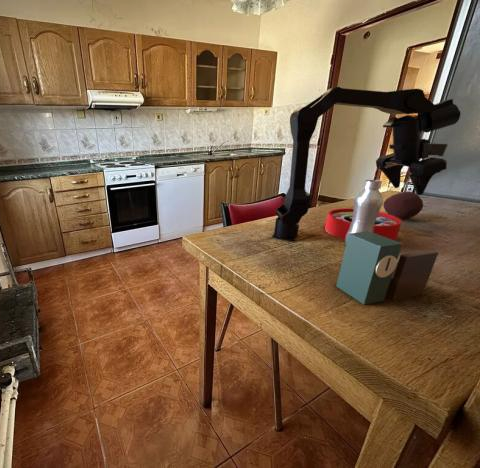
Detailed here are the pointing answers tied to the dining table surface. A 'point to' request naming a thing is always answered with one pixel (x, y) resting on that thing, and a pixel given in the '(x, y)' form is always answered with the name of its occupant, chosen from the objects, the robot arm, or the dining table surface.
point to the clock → (368, 266)
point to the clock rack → (411, 274)
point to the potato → (403, 205)
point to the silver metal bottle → (366, 208)
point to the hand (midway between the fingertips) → (408, 190)
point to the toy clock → (342, 220)
